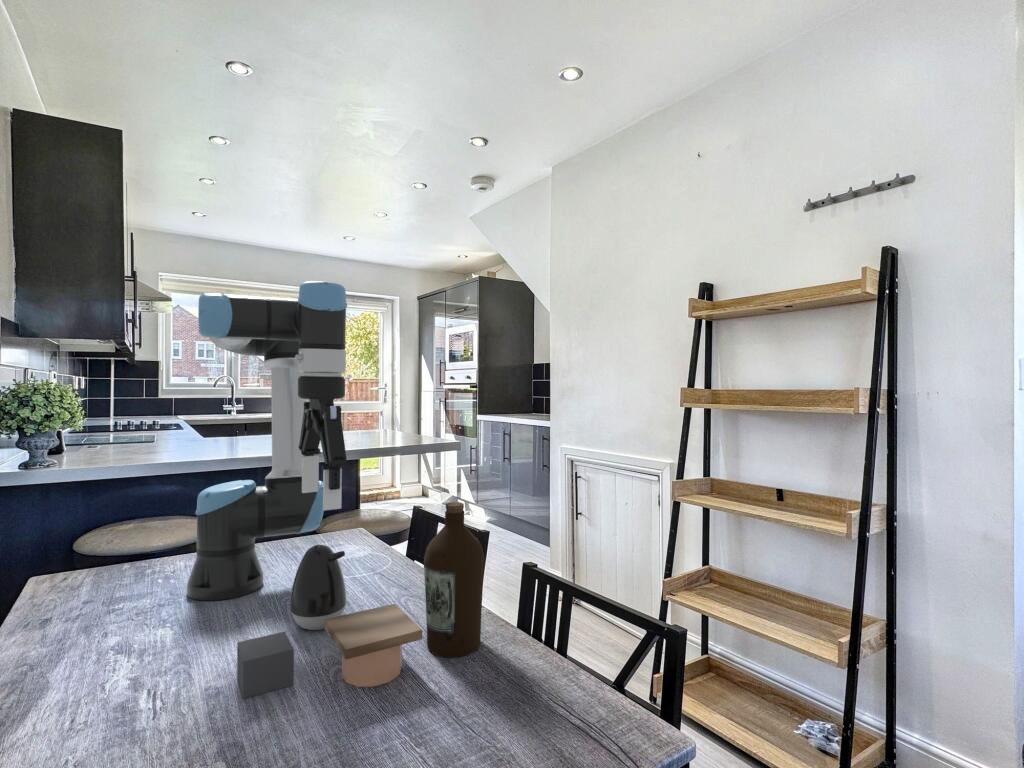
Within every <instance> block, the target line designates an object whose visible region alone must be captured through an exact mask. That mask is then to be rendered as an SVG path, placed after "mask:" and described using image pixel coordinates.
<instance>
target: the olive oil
mask: <svg viewBox="0 0 1024 768" xmlns="http://www.w3.org/2000/svg"><path fill="white" fill-rule="evenodd" d="M464 505H465V504H464V503H463V502H459V501H453V502H452V501H451V502H447V503H446V504H445V511H444V518H445V519H444V522H445V524H444V526H443V527H442V528H441V530H439V532H438V533H437V534H435V536H434V537H433V538H431V540H430V541H429V543H428V545H427V547H426V549H425V553H424V556H423V557H424V558H423V570H424V572H423V573H424V588H425V589H424V590H425V595H424V596H425V613H426V615H425V616H426V618H425V619H426V646H427V647H426V648H427V649H428V651H430V652H431V653H432V654H434V655H436V656H437V657H438V656H439V657H445V658H459V657H465V656H468V655H470V654H472V653H474V652H476V651H477V650H479V648H480V645H481V638H482V637H481V636H482V634H481V633H482V611H483V610H482V607H483V605H482V604H483V589H484V574H485V573H484V572H485V553H484V552H485V551H484V550H483V549H484V548H483V546H482V543H481V542H480V541H479V539H478V538H477V537H476V536H475V535H474V534H473V533H472V532H471V530H469V529H468V527H466V525H465V511H464V507H465V506H464Z"/></svg>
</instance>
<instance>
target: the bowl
mask: <svg viewBox="0 0 1024 768" xmlns="http://www.w3.org/2000/svg"><path fill="white" fill-rule="evenodd" d="M402 647H403V645H399V646H395V647H391V648H388V649H384V650H380V651H377V652H373V653H369V654H365V655H362V656H358V657H354V658H350V659H347V660H346V659H345V658H344V656H343V655H342V654H341V655H342V657H341V660H342V661H341V663H342V665H341V676H342V677H343V679H344V681H345V682H346V683H347V684H348V685H353V686H355V687H357V688H359V687H360V688H363V687H377V686H381V685H384V684H387V683H390V682H391V681H392V680H394V679H396V678H397V677H398V676H400V674H401V671H402V667H403V661H402V660H403V648H402Z"/></svg>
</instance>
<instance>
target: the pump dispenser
mask: <svg viewBox="0 0 1024 768" xmlns="http://www.w3.org/2000/svg"><path fill="white" fill-rule="evenodd" d="M345 556H346V552H345V551H344V550H340V551H337V552H334V551H333V550H332V548H331V547H330V546H328V545H326V544H316V545H313V546H311V547H310V548H308V549H307V551H305V553H304V555H303V556H302V559H301V560H300V562H299V565H298V567H297V570H296V574H295V576H294V580H293V584H292V589H291V593H290V601H289V602H290V603H289V611H290V612H291V614H292V617H293V618H292V619H294V622H295V623H296V624H297V625H298V626H299V627H301V628H302V629H304V630H309V631H320V630H325V619H328V618H333V617H337V616H342V615H343V612H344V610H345V606H346V605H347V591H346V584H345V579H344V574H343V571H342V568H341V566H340V562H339V559H341V558H343V557H345Z"/></svg>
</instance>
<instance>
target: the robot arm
mask: <svg viewBox="0 0 1024 768" xmlns="http://www.w3.org/2000/svg"><path fill="white" fill-rule="evenodd" d="M346 294H347V293H346V288H345V287H344V285H342V284H339V283H337V282H331V281H317V280H315V281H313V280H311V281H310V280H309V281H305V282H302V283H301V284H300V285H299V291H298V297H297V299H295V298H285V297H283V298H281V297H270V296H269V297H267V296H266V297H261V296H250V295H239V294H228V293H224V292H217V293H211V292H209V293H208V292H206V293H201V294H200V295H199V298H198V307H197V309H198V314H197V315H198V317H197V318H198V321H197V323H198V332H199V334H200V336H202V337H205V338H209V340H210V341H211V342H212V344H214V345H215V346H216V347H218V348H219V349H222V350H225V351H228V352H230V353H234V354H238V355H244V356H255V357H263V361H264V363H263V364H264V365H265V366H266V367H267V368H268V369H269V370H270V373H271V374H270V375H271V376H270V377H271V380H270V381H271V393H270V395H271V396H270V397H271V471H270V472H269V473H268V474H267V475H266V476H265V477H264V485H259V486H257V483H256V482H255V481H254V480H252V479H244V480H243V479H239V480H233V481H229V482H228V481H227V482H223V483H218V484H215V485H212V486H209V487H207V488H205V489H203V490H202V491H201V492H199V493H198V495H197V499H196V500H197V501H196V503H197V504H196V510H195V515H196V555H195V557H196V558H195V560H194V563H193V566H192V568H191V571H190V575H189V578H188V580H187V584H186V595H187V597H189V598H190V599H194V600H197V601H222V600H228V599H233V598H237V597H241V596H244V595H247V594H251V593H252V592H255V591H256V590H259V588H261V587H262V586H263V585H264V571H263V569H262V565H261V563H260V560H259V558H258V556H257V553H256V539H259V538H268V537H276V536H277V537H278V536H284V535H285V536H286V535H294V534H297V535H299V534H302V533H308V532H313V531H315V530H317V529H318V528H319V526H320V525H321V522H322V519H323V516H324V512H325V511H331V510H341V509H342V499H343V498H342V492H343V491H342V487H343V486H342V484H343V468H344V467H346V466H347V465H348V460H347V452H346V445H345V438H344V429H343V422H342V406H341V405H335V402H334V401H335V399H336V400H339V399H343V398H344V397H345V396H346V378H345V377H344V376H343V374H345V373H346V370H347V369H346V368H347V367H346V366H347V365H346V364H347V363H346V361H347V359H346V357H347V356H346V355H347V350H346V324H347V321H346V319H347V307H348V303H347V299H346V297H347V295H346ZM320 444H321V449H322V452H321V449H320V448H319V447H320ZM321 453H322V455H323V460H324V463H322V464H321V467H320V469H321V471H323V472H322V476H323V478H322V480H319V479H320V478H319V476H320V474H319V470H320V469H319V465H320V463H319V462H320V459H319V457H320V456H319V455H321Z"/></svg>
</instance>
